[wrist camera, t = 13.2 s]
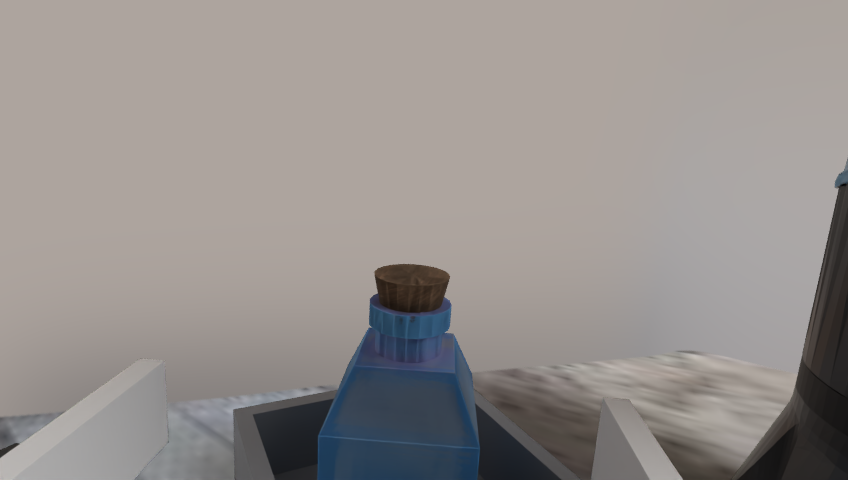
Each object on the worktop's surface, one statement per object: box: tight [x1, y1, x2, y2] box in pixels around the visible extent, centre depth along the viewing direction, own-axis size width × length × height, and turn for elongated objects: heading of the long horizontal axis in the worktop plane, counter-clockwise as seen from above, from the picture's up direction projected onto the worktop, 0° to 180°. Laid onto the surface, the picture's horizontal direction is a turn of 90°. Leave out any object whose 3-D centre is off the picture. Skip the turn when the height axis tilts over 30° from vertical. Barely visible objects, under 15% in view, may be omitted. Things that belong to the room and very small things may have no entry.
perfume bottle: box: [317, 264, 480, 480], centre depth 22 cm, size 6×6×12 cm
